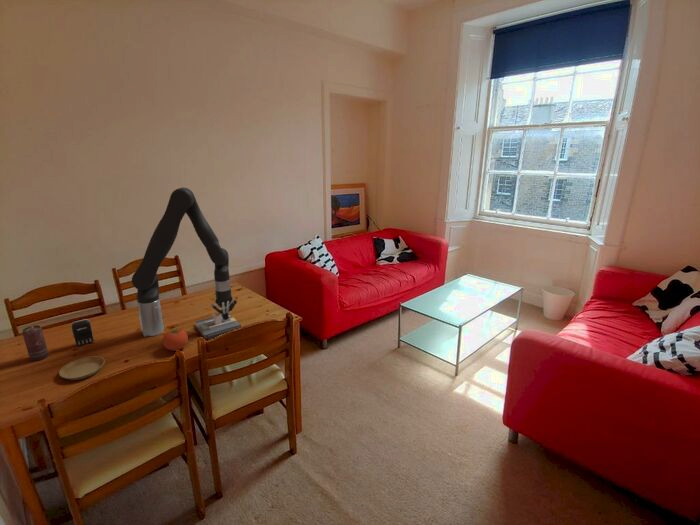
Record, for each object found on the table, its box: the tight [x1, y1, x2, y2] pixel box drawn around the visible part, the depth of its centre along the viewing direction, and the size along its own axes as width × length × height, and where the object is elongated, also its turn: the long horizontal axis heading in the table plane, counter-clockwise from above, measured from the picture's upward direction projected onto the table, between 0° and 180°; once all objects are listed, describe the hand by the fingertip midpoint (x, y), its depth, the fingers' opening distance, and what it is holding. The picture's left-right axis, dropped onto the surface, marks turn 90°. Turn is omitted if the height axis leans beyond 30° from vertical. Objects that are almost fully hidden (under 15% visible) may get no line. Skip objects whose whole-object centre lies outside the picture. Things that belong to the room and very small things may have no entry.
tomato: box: [162, 328, 189, 352], centre depth 157 cm, size 10×10×10 cm
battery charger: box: [71, 318, 95, 347], centre depth 159 cm, size 7×4×11 cm, turn 130°
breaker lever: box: [212, 311, 222, 325], centre depth 177 cm, size 3×4×5 cm
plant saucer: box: [58, 355, 105, 381], centre depth 141 cm, size 15×15×3 cm
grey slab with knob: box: [195, 314, 242, 341], centre depth 178 cm, size 16×19×2 cm
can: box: [21, 325, 49, 362], centre depth 147 cm, size 6×6×14 cm
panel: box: [194, 313, 242, 339], centre depth 178 cm, size 18×15×3 cm
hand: (225, 319), depth 180 cm, fingers closed
